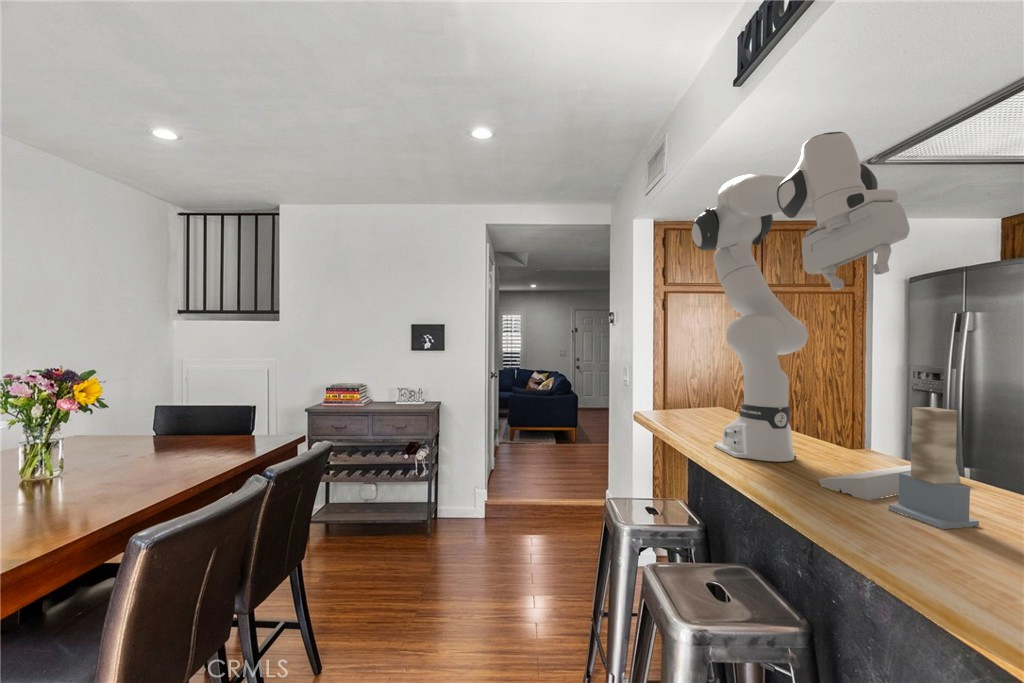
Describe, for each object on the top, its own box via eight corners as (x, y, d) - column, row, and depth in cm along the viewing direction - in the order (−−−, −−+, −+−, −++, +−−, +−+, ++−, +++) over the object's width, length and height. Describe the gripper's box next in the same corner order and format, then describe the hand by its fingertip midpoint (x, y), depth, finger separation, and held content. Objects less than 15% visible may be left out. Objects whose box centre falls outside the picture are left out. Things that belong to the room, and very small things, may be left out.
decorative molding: (823, 501, 112) (869, 502, 103) (818, 478, 113) (863, 478, 105) (914, 484, 126) (961, 484, 118) (908, 465, 127) (955, 463, 119)
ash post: (910, 477, 96) (912, 407, 95) (930, 476, 96) (931, 407, 96) (935, 483, 91) (937, 411, 91) (955, 482, 92) (957, 410, 92)
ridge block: (888, 509, 98) (889, 473, 98) (922, 507, 100) (923, 471, 100) (942, 529, 88) (943, 488, 88) (979, 526, 90) (980, 486, 90)
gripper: (788, 234, 107) (802, 298, 104) (876, 186, 87) (896, 263, 85) (813, 233, 108) (828, 296, 106) (905, 186, 89) (926, 262, 86)
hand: (859, 281), depth 95 cm, fingers open, 8 cm apart
